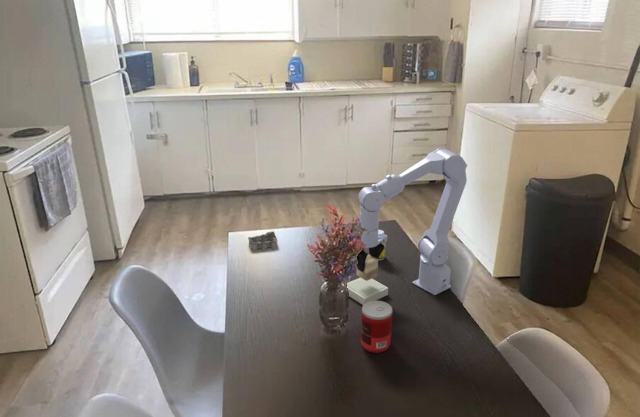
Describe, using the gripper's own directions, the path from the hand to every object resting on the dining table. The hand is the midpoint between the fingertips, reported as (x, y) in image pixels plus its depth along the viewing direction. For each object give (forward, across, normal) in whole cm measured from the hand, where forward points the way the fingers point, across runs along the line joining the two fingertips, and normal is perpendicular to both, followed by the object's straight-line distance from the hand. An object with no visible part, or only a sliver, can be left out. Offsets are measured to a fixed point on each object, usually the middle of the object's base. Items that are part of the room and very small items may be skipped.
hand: (366, 267), depth 145 cm
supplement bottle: (+9, -19, -15) cm, 26 cm away
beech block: (+3, 0, 0) cm, 3 cm away
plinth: (+9, +1, 0) cm, 9 cm away
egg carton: (+9, +8, -49) cm, 50 cm away
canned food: (+9, +16, +20) cm, 27 cm away
